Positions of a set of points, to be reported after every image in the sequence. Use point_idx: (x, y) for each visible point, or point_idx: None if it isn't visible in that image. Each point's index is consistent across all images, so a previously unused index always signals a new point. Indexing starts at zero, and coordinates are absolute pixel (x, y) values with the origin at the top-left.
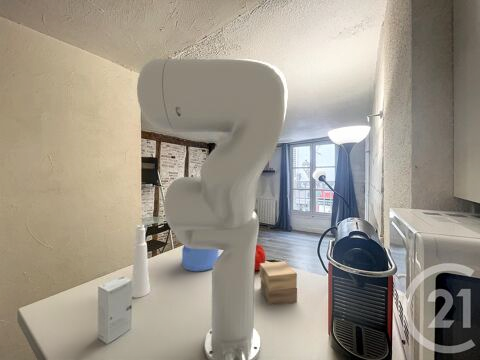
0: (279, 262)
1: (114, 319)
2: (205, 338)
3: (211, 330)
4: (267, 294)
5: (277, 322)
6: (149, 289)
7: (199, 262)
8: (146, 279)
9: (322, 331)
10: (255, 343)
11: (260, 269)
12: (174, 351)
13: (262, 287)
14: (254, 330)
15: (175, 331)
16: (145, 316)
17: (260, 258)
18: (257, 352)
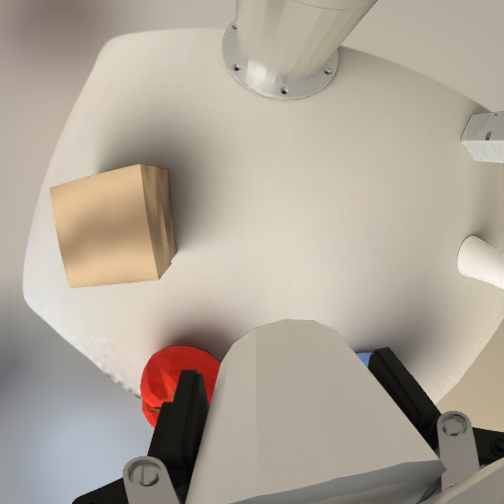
0: (85, 280)
1: (491, 118)
2: (338, 60)
3: (328, 76)
4: (163, 181)
5: (165, 102)
6: (461, 257)
7: (367, 367)
8: (483, 258)
9: (86, 85)
10: (234, 34)
11: (162, 264)
12: (384, 64)
13: (170, 236)
14: (229, 62)
15: (395, 108)
16: (451, 168)
17: (157, 367)
18: (234, 20)
